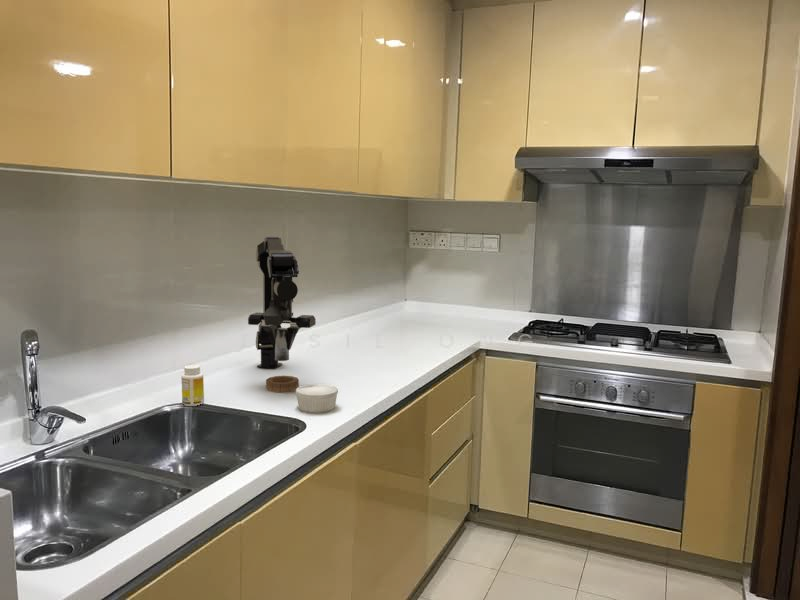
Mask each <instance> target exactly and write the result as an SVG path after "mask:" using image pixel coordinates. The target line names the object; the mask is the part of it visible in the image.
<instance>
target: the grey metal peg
mask: <svg viewBox="0 0 800 600" xmlns="http://www.w3.org/2000/svg"><path fill="white" fill-rule="evenodd" d="M287 328H288V327H282V328H276V329H275V360H276V361H278V362H284V361H287V362H288V361H289V360H290V350H288V330H287Z"/></svg>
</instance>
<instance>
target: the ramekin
mask: <svg viewBox="0 0 800 600" xmlns="http://www.w3.org/2000/svg"><path fill="white" fill-rule="evenodd" d="M338 393H339V389H338V387H337V386H334V385H331V384H323V383H322V384H321V383H318V384H317V383H315V384H304V385H299V387H298V388H297V389H296V390H295V394H296V400H297V405H298V408H299V409H300V411H302V412H305V413H310V414H320V413H328V412H330V410H331V411H333V410H334V408H335V407H336V404H337V397H338Z"/></svg>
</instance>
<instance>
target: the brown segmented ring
mask: <svg viewBox="0 0 800 600" xmlns="http://www.w3.org/2000/svg"><path fill="white" fill-rule="evenodd" d="M298 387H300V381H299V378H298V377H296V376H293V375H276V376H275V375H274V376H270V377H268V378H266V379H265V389H266V390H267V391H268V392H273V393H289V392H294V391H295V392H296V389H297V388H298Z"/></svg>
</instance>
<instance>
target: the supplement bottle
mask: <svg viewBox="0 0 800 600" xmlns="http://www.w3.org/2000/svg"><path fill="white" fill-rule="evenodd" d="M204 393H205V391H204V373H203V372H201V367H200V365H199V364H190V365H186V366H184V373H182V375H181V403H182V404H184V405H183V406H185V407H198V406H201V405H203V404H204V402H205V394H204ZM200 404H201V405H200ZM197 405H198V406H197Z"/></svg>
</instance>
